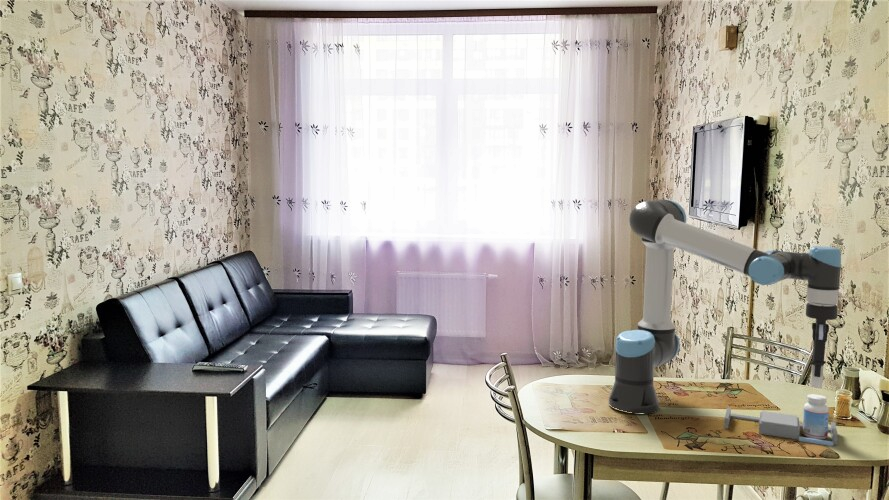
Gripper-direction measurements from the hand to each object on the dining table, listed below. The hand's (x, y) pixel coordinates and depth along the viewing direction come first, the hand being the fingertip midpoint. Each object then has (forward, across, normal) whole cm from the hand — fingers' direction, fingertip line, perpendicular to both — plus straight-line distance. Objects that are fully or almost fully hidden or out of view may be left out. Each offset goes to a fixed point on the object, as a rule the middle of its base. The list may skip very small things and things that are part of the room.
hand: (816, 386), depth 183 cm
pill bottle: (+14, -1, 0) cm, 14 cm away
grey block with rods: (+14, -1, +8) cm, 16 cm away
